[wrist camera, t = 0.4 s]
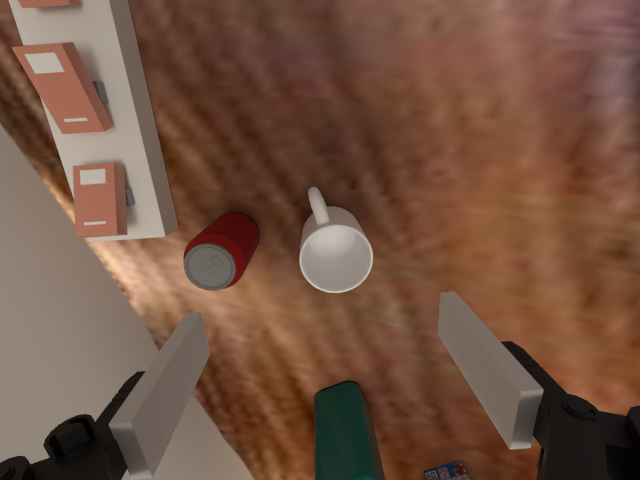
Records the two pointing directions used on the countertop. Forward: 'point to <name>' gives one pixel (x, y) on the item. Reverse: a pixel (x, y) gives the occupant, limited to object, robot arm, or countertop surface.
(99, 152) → the power strip
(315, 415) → the green bottle
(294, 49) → the countertop surface
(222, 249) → the beverage can
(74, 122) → the rocker
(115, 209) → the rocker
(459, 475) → the juice carton
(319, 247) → the mug
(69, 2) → the block
